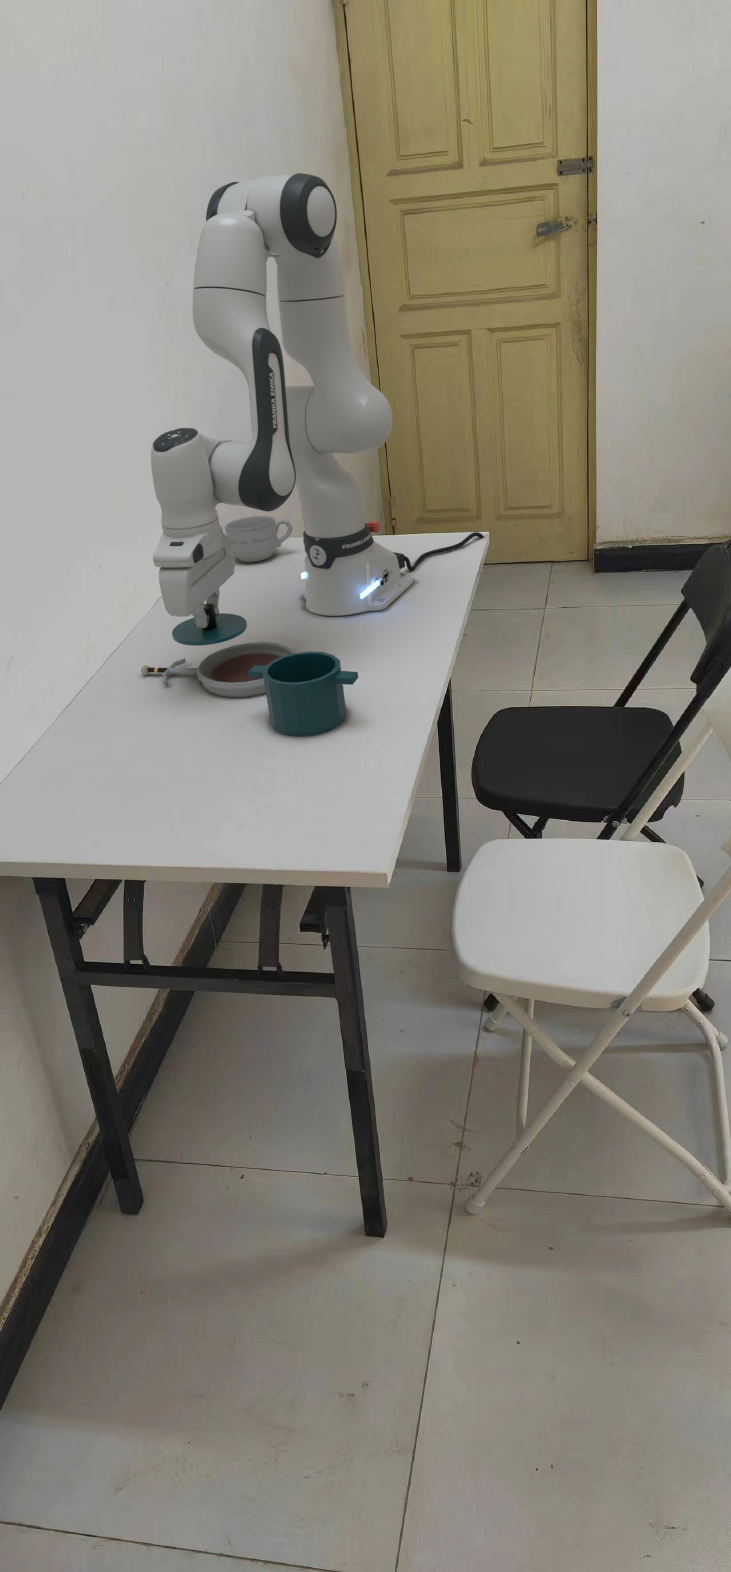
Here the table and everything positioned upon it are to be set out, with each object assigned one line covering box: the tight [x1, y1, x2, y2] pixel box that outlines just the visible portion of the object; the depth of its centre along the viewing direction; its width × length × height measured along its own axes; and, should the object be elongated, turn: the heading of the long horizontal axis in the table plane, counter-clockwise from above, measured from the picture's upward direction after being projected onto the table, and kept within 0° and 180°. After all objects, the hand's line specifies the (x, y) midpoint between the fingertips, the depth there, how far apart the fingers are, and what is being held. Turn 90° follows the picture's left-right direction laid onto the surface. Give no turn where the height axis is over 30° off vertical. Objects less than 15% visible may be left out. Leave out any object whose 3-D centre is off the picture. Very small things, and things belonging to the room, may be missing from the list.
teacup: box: [224, 515, 293, 563], centre depth 235 cm, size 14×11×8 cm
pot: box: [248, 650, 359, 737], centre depth 166 cm, size 11×17×8 cm
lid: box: [171, 603, 248, 647], centre depth 181 cm, size 12×12×5 cm
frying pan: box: [140, 641, 297, 698], centre depth 185 cm, size 17×3×28 cm
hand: (208, 621), depth 181 cm, fingers closed on lid, 2 cm apart
